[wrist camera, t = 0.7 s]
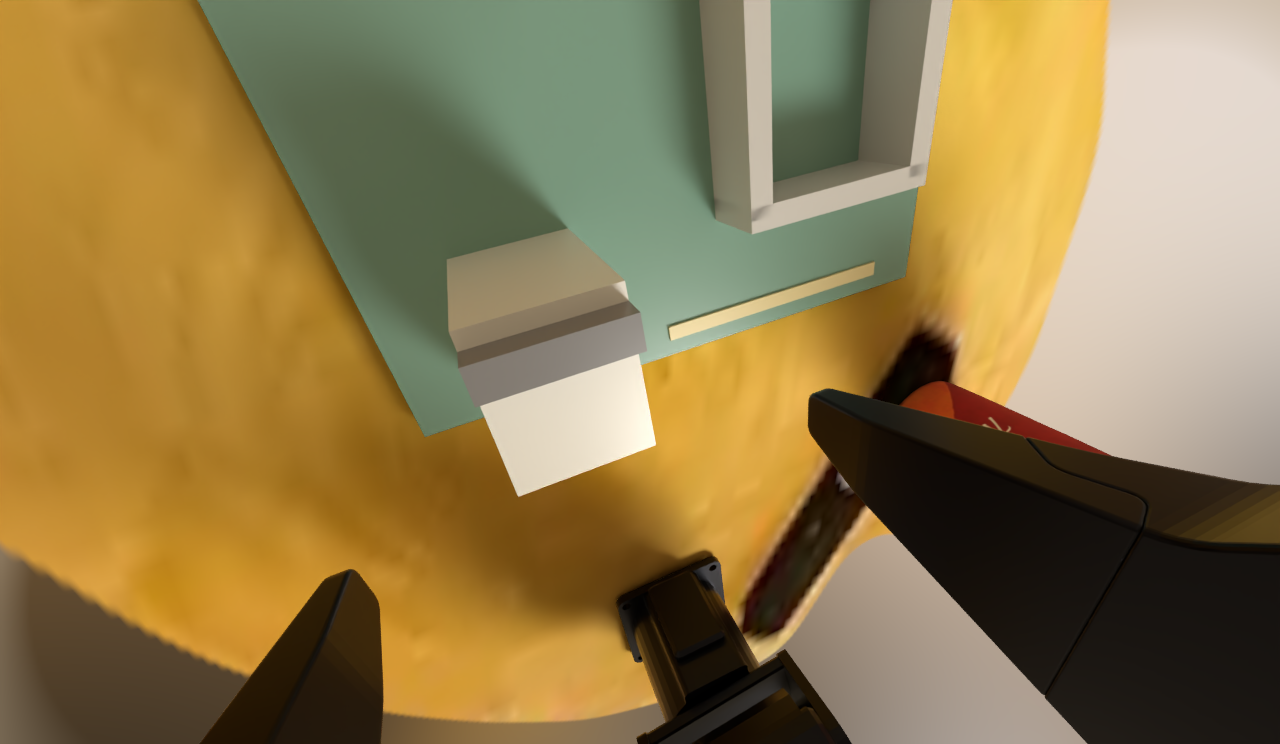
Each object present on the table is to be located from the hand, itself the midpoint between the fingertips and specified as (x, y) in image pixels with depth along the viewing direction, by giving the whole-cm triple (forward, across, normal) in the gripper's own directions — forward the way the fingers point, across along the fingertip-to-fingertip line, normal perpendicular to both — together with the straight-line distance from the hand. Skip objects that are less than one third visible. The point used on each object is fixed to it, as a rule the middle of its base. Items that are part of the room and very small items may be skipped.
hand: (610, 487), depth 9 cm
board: (+10, -6, -4) cm, 12 cm away
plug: (+9, 0, 0) cm, 9 cm away
